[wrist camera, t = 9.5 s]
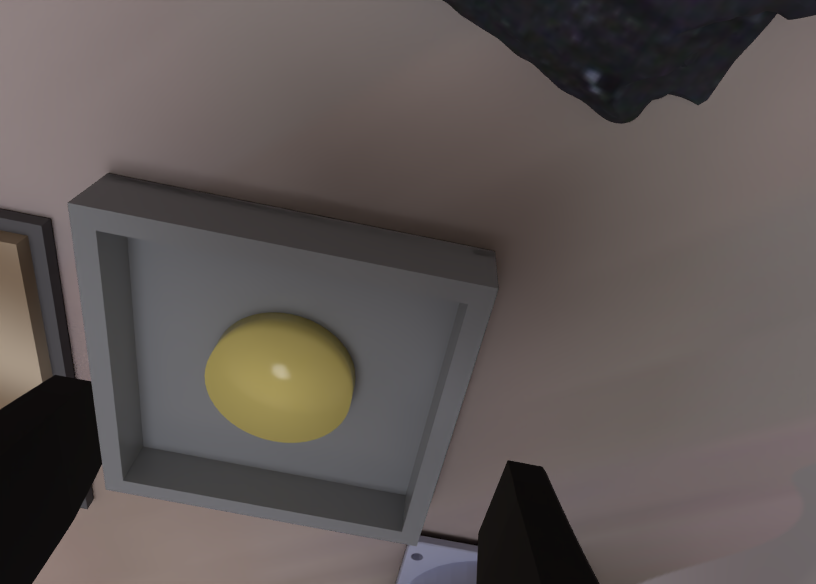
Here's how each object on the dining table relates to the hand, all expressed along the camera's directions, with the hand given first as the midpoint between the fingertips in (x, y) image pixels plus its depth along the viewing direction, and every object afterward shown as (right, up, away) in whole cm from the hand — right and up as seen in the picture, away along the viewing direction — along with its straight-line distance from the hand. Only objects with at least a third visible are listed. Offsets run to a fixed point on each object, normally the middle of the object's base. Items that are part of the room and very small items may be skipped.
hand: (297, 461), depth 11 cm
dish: (-2, 0, +11) cm, 11 cm away
